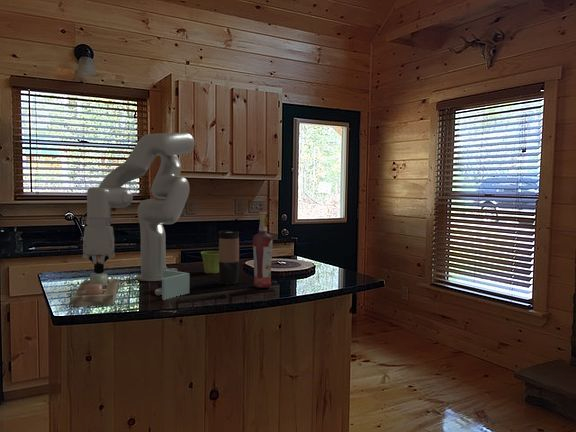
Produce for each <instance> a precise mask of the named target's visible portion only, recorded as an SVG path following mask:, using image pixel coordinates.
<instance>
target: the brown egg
mask: <svg viewBox="0 0 576 432" xmlns="http://www.w3.org/2000/svg"><path fill="white" fill-rule="evenodd" d="M86 291H87V295H101V294H103V287H102V284H90V285H87V286H86Z"/></svg>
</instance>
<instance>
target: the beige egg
mask: <svg viewBox="0 0 576 432" xmlns="http://www.w3.org/2000/svg"><path fill="white" fill-rule="evenodd" d="M102 274H105V284H107V279H108V273H104V272H103V273H102Z"/></svg>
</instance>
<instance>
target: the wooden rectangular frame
mask: <svg viewBox="0 0 576 432" xmlns="http://www.w3.org/2000/svg"><path fill="white" fill-rule="evenodd" d="M87 285H90V279H86V280H85V279H84V280H83V281H82V282H81V284H80V285H79V286H78V288H77V289H76V291H75V292H74V294H73V295H72V296H71V306H72V308H75V307H76V308H79V307H94V306H95V307H96V306H97V305H98V306H113V305H114V304H115V301H116V298H117V296H118V292H119V289H120V278H110V279H109V278H107V284H105V289H103V294H101V295H87V291H86V286H87Z"/></svg>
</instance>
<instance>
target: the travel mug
mask: <svg viewBox="0 0 576 432" xmlns="http://www.w3.org/2000/svg"><path fill="white" fill-rule="evenodd" d="M239 236H240V232H239V230H228V229H226V230H219V232H218V251H219V272H218V275H219V281H218V282H219V284H220V285H221V284H225V285H224V286H230V285H229V284H235V285H237V284H236V283H238V284H239V276H240V275H239V270H240V269H239V268H240V266H239V265H240V237H239Z"/></svg>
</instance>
